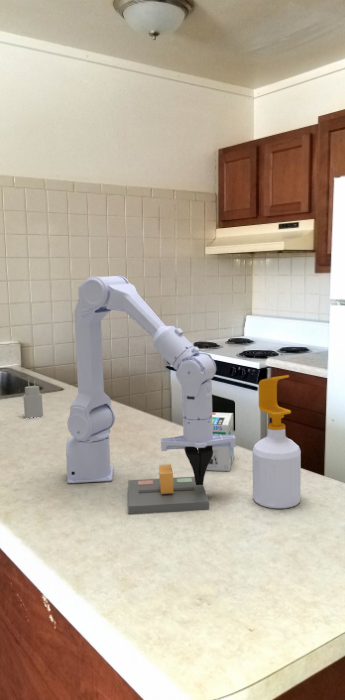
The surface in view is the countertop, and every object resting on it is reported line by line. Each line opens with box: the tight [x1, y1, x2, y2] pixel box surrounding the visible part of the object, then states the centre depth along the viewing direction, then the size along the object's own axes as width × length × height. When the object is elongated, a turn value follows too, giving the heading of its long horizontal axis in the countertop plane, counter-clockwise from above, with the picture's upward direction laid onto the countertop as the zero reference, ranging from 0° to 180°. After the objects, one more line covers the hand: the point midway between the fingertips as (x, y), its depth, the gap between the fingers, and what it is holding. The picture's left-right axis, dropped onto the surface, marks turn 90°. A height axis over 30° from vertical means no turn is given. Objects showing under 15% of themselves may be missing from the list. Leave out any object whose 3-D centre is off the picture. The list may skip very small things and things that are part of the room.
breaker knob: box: [158, 463, 174, 494], centre depth 110 cm, size 2×5×4 cm, turn 4°
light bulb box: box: [206, 411, 235, 472], centre depth 129 cm, size 11×7×11 cm, turn 168°
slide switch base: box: [127, 476, 210, 515], centre depth 111 cm, size 15×13×2 cm
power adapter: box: [22, 378, 44, 419], centre depth 174 cm, size 3×5×12 cm, turn 111°
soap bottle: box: [251, 374, 302, 509], centre depth 107 cm, size 9×9×25 cm
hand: (199, 483), depth 111 cm, fingers closed
